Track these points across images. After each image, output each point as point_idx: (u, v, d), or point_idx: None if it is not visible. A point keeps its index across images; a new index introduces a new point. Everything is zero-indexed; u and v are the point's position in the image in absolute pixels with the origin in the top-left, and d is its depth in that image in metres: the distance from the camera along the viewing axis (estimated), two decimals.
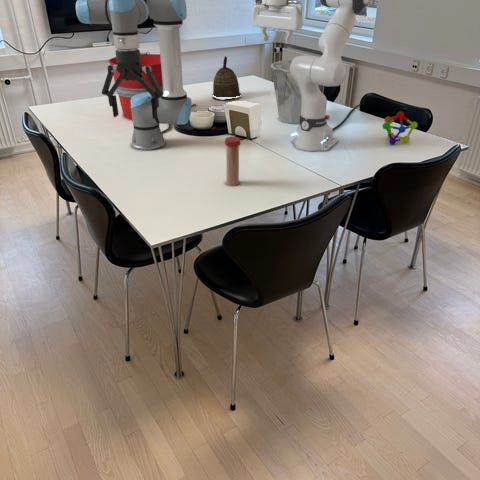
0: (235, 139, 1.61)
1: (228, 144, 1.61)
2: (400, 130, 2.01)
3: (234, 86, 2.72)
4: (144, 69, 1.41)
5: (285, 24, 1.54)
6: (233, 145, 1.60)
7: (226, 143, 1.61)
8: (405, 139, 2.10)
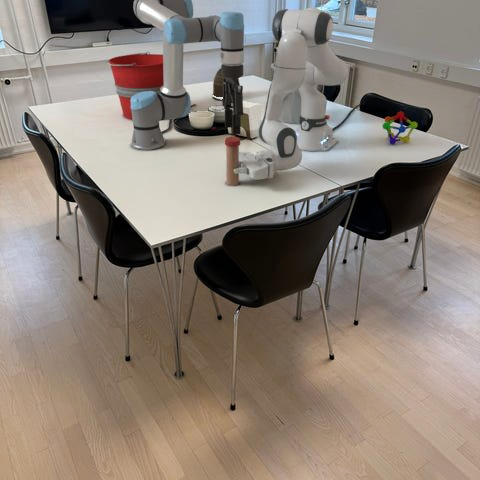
0: (235, 139, 1.61)
1: (228, 144, 1.61)
2: (400, 130, 2.01)
3: None
4: None
5: None
6: (233, 145, 1.60)
7: (226, 143, 1.61)
8: (405, 139, 2.10)
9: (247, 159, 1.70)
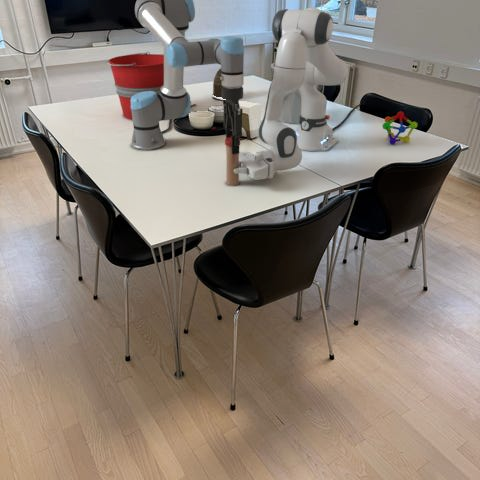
0: None
1: (228, 144, 1.61)
2: (400, 130, 2.01)
3: None
4: (236, 109, 1.52)
5: None
6: None
7: (226, 143, 1.61)
8: (405, 139, 2.10)
9: (247, 159, 1.70)
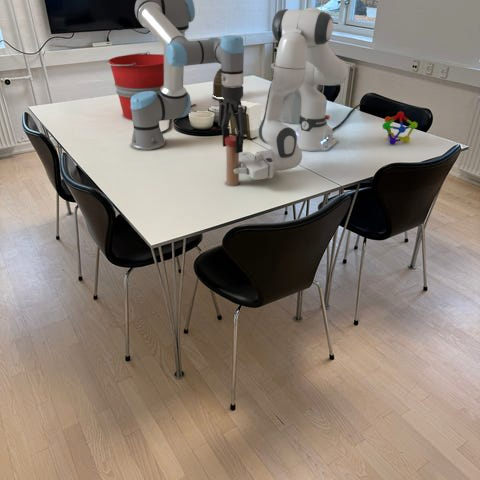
0: (234, 137, 1.63)
1: None
2: (400, 130, 2.01)
3: None
4: None
5: None
6: None
7: None
8: (405, 139, 2.10)
9: (247, 159, 1.70)
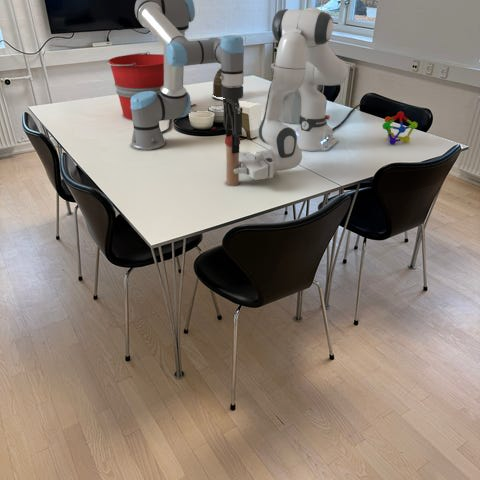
0: None
1: None
2: (400, 130, 2.01)
3: None
4: (236, 108, 1.51)
5: None
6: None
7: None
8: (405, 139, 2.10)
9: (247, 159, 1.70)
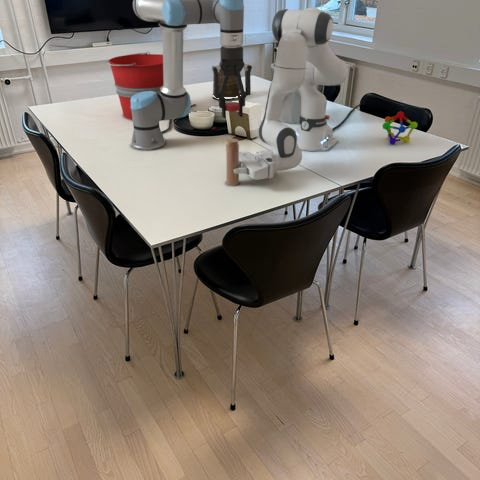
0: (229, 103, 1.56)
1: None
2: (400, 130, 2.01)
3: (234, 86, 2.72)
4: (245, 66, 1.49)
5: None
6: None
7: None
8: (405, 139, 2.10)
9: (247, 159, 1.70)
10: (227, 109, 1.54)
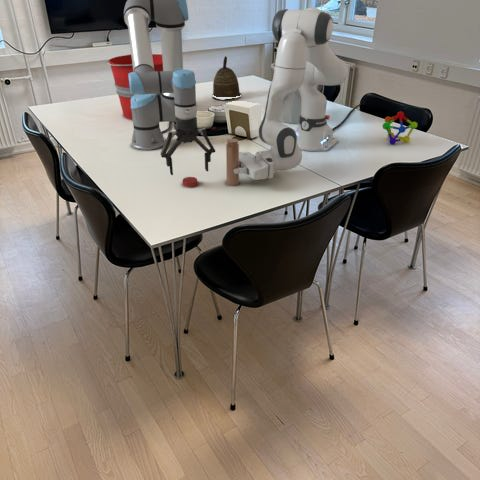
0: (187, 178, 1.70)
1: None
2: (400, 130, 2.01)
3: (234, 86, 2.72)
4: (200, 131, 1.61)
5: None
6: None
7: None
8: (405, 139, 2.10)
9: (247, 159, 1.70)
10: (185, 185, 1.68)
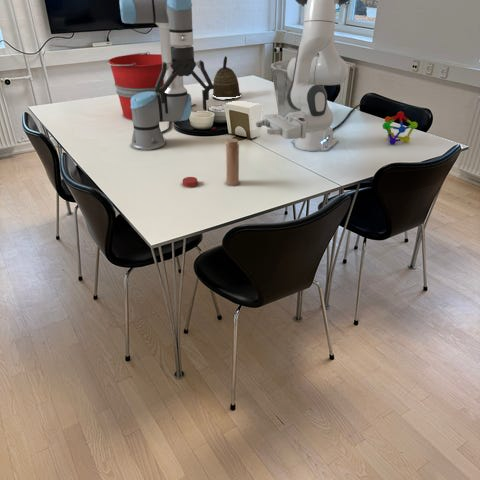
0: (187, 178, 1.70)
1: None
2: (400, 130, 2.01)
3: (234, 86, 2.72)
4: (198, 64, 1.48)
5: None
6: None
7: None
8: (405, 139, 2.10)
9: (278, 120, 1.68)
10: (185, 185, 1.68)
